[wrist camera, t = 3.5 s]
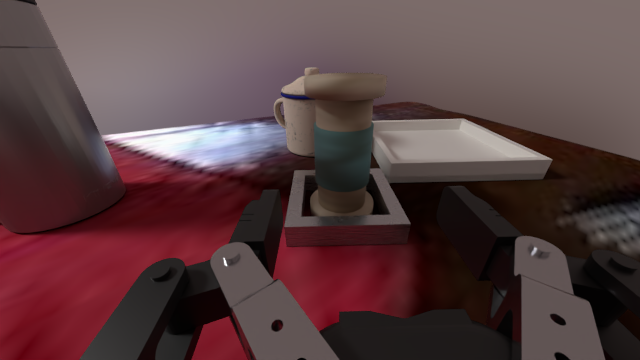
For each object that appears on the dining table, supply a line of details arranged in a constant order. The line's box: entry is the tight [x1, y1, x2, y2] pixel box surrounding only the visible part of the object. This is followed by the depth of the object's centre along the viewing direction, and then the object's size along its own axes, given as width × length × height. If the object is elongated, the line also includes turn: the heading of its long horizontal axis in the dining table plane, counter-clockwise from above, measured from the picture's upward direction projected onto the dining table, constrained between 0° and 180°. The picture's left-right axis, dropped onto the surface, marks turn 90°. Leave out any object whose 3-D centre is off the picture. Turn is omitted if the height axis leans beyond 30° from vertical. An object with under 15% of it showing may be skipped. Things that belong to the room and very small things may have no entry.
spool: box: [304, 73, 387, 217], centre depth 20 cm, size 6×6×12 cm
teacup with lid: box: [274, 68, 319, 157], centre depth 36 cm, size 12×9×12 cm
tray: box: [371, 119, 552, 183], centre depth 35 cm, size 18×18×2 cm
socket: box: [284, 168, 411, 246], centre depth 22 cm, size 10×10×2 cm
